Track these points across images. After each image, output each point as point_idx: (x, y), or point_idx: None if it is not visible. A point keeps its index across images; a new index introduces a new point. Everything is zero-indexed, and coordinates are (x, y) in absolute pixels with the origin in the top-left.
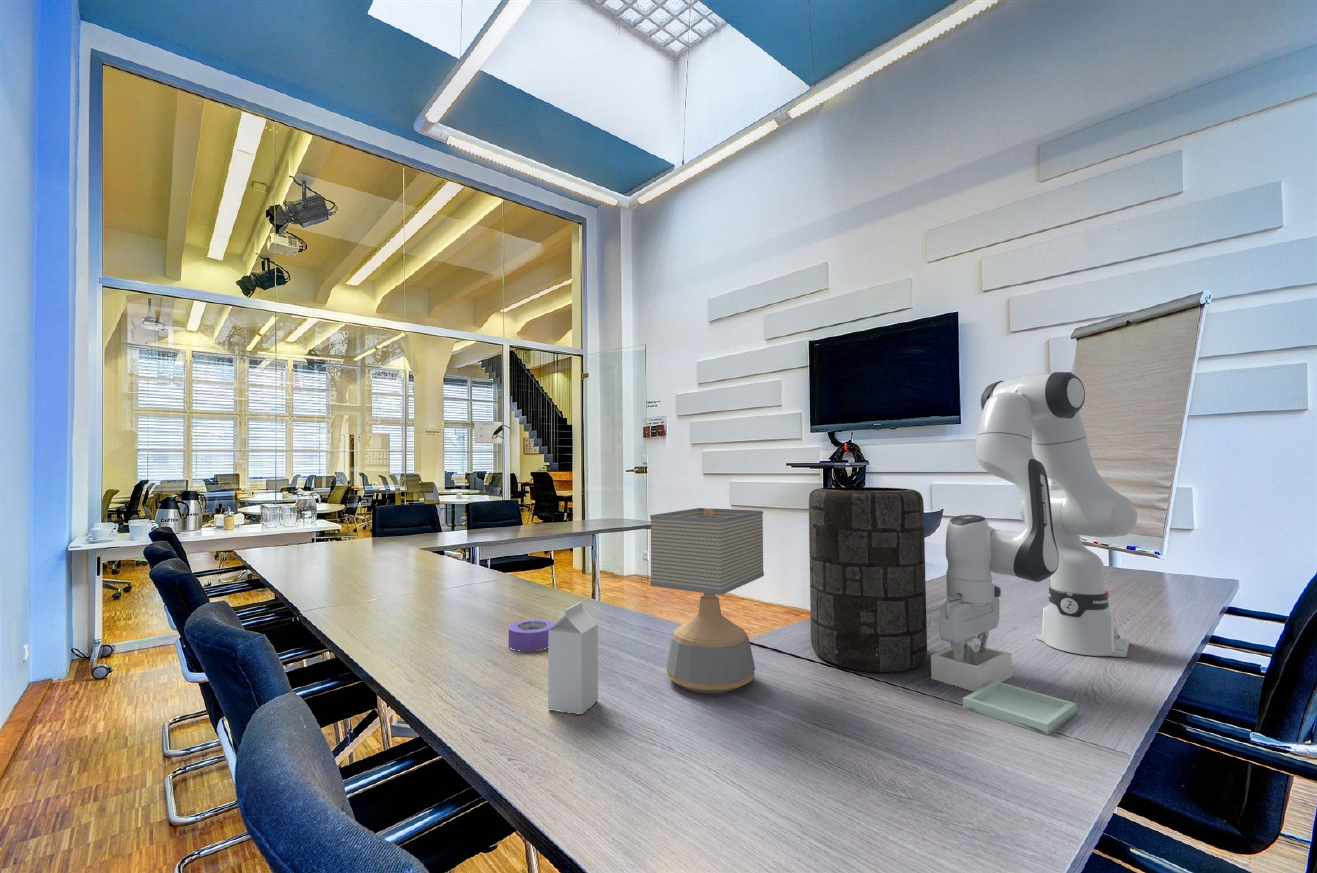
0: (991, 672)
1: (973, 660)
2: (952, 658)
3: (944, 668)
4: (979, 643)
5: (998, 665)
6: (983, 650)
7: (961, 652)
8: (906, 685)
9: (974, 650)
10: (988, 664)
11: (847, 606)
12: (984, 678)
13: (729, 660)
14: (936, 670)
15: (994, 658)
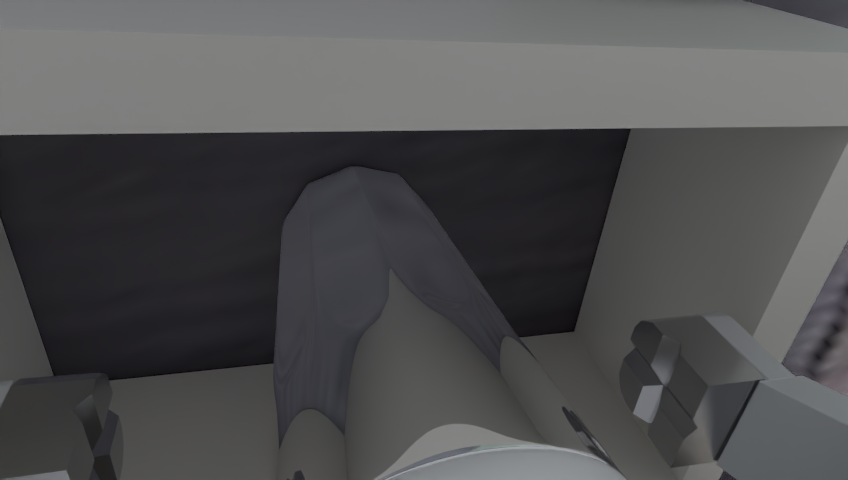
0: (544, 10)
1: (477, 289)
2: None
3: None
4: (492, 452)
5: (303, 12)
6: (75, 390)
7: (812, 389)
8: (783, 362)
9: (543, 374)
10: (695, 48)
11: None
12: (708, 14)
13: None
14: None
15: (319, 108)
